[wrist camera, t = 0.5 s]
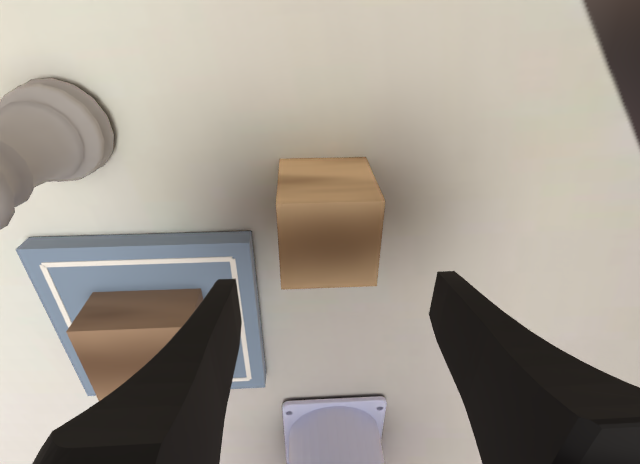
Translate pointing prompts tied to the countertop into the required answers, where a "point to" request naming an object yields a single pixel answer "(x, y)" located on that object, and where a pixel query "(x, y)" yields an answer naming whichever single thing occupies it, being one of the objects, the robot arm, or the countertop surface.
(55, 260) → the board
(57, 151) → the rook chess piece
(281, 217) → the oak block
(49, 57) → the countertop surface
